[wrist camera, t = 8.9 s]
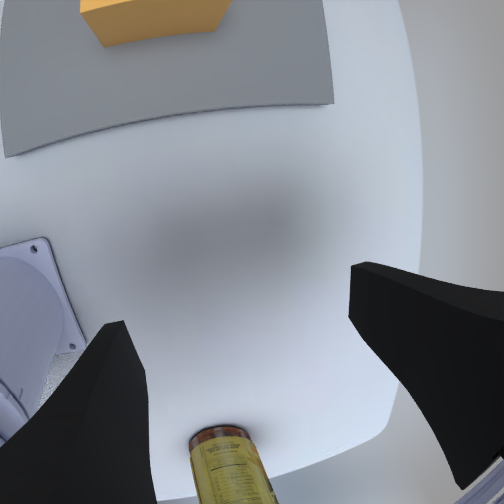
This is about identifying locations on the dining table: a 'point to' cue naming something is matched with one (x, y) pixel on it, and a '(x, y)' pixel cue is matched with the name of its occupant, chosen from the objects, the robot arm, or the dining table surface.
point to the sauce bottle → (228, 468)
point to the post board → (153, 69)
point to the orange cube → (150, 18)
